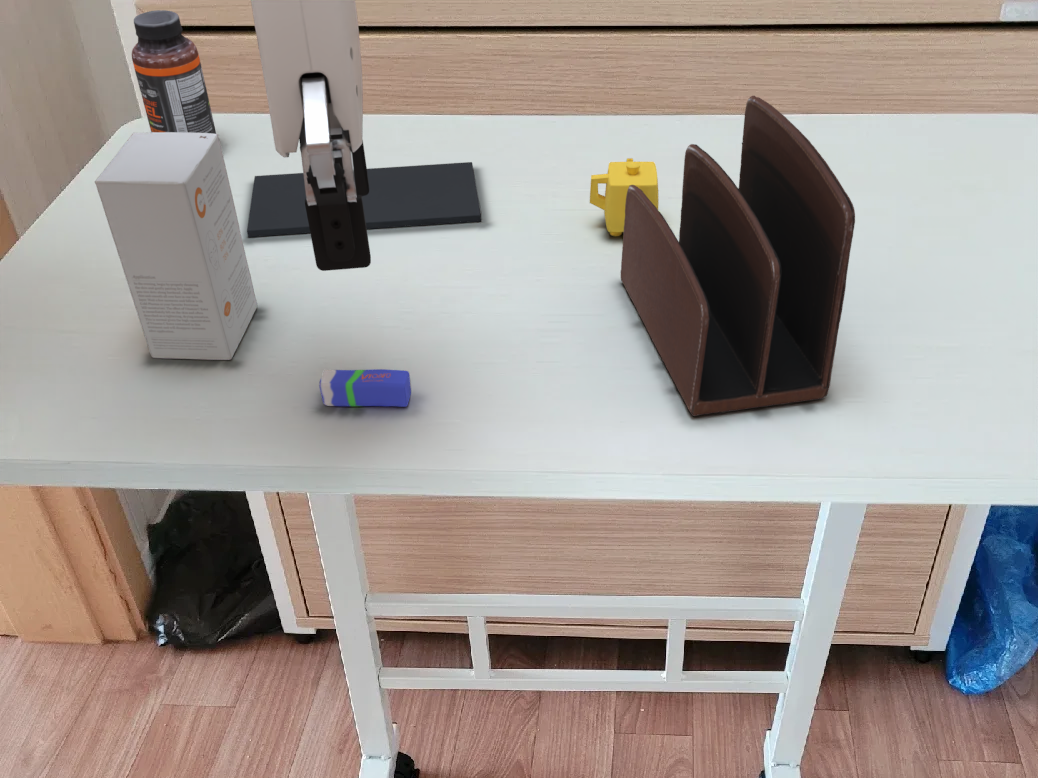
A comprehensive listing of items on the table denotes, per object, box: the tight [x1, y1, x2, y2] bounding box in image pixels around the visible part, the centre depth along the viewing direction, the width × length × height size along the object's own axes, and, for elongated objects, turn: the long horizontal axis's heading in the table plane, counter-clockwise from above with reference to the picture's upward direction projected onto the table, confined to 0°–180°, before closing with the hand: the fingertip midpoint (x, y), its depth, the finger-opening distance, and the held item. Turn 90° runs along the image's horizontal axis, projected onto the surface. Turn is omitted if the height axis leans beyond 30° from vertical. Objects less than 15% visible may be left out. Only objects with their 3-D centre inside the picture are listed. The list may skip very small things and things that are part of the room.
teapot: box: [589, 157, 659, 237], centre depth 93 cm, size 8×6×5 cm
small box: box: [94, 131, 259, 361], centre depth 80 cm, size 8×6×13 cm
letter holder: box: [620, 95, 856, 417], centre depth 77 cm, size 10×20×14 cm, turn 12°
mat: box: [246, 161, 482, 238], centre depth 99 cm, size 20×11×1 cm, turn 96°
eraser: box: [318, 368, 412, 408], centre depth 77 cm, size 2×6×2 cm, turn 86°
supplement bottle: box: [131, 9, 217, 134], centre depth 103 cm, size 6×6×11 cm
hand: (345, 229), depth 69 cm, fingers open, 9 cm apart
